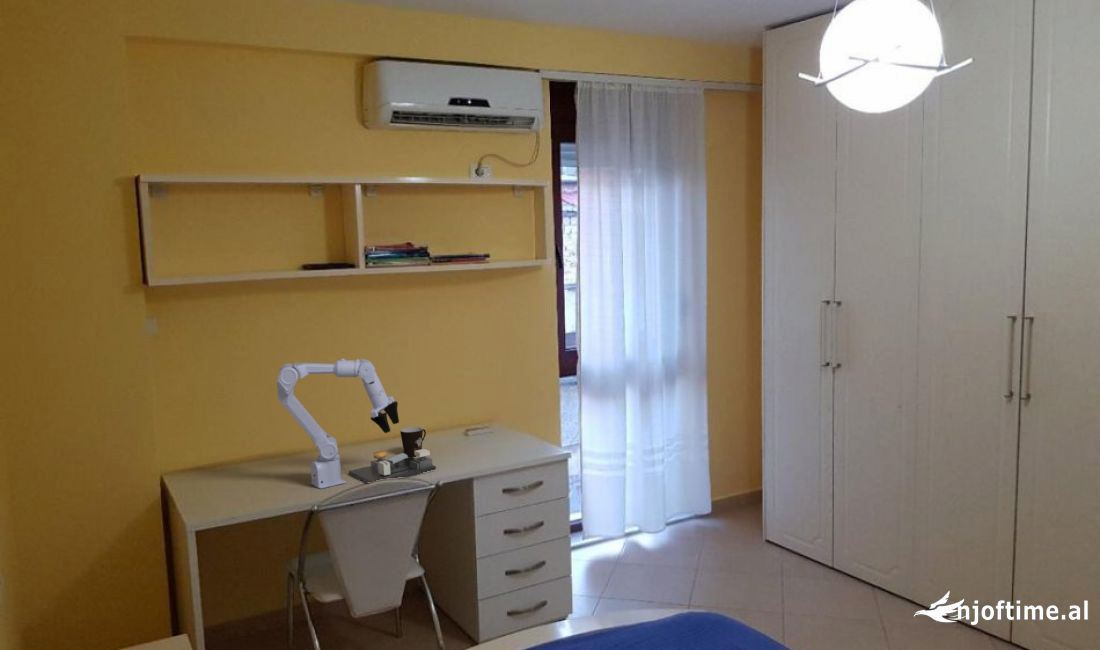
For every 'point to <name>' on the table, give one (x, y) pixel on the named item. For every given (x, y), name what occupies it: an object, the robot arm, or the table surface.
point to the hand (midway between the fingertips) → (392, 427)
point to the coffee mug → (412, 440)
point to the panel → (394, 469)
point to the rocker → (397, 458)
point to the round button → (380, 455)
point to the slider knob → (384, 467)
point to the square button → (422, 453)
